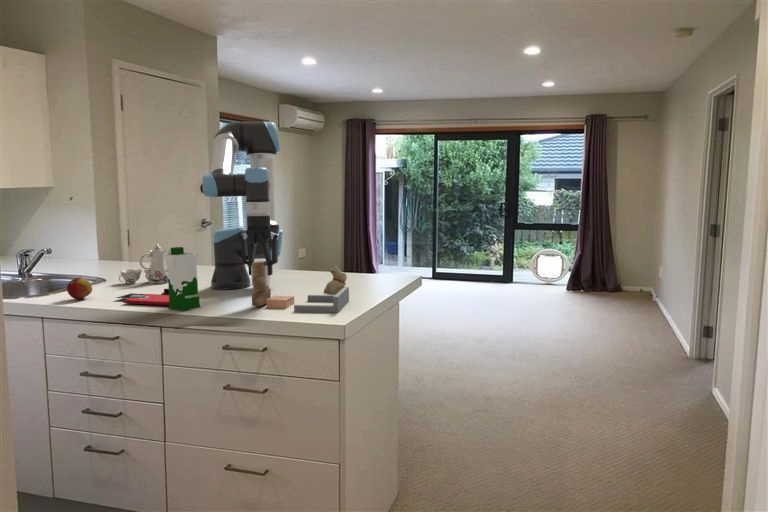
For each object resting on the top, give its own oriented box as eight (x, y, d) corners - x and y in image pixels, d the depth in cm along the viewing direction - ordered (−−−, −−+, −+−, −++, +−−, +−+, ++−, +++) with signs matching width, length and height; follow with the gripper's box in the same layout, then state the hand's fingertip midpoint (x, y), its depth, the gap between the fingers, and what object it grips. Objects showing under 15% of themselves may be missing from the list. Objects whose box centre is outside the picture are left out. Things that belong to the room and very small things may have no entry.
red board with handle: (134, 294, 224) (105, 303, 210) (134, 287, 224) (104, 295, 209) (205, 298, 215) (180, 307, 201) (205, 290, 215) (179, 298, 201)
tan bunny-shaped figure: (343, 293, 223) (343, 266, 221) (323, 292, 224) (322, 266, 223) (347, 290, 228) (347, 264, 227) (327, 290, 230) (326, 263, 228)
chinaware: (174, 278, 270) (169, 241, 269) (197, 278, 260) (192, 240, 259) (114, 288, 248) (109, 248, 247) (137, 288, 238) (131, 246, 237)
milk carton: (186, 304, 207) (183, 246, 204) (204, 307, 202) (201, 247, 199) (164, 309, 199) (161, 248, 197) (183, 312, 195) (179, 250, 192)
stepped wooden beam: (250, 305, 198) (248, 263, 197) (261, 299, 208) (259, 259, 206) (262, 306, 198) (260, 263, 196) (272, 300, 208) (270, 259, 206)
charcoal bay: (294, 311, 193) (293, 296, 192) (308, 300, 210) (308, 286, 210) (338, 312, 191) (337, 297, 190) (349, 301, 208) (348, 286, 208)
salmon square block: (266, 308, 200) (266, 299, 199) (275, 304, 207) (274, 295, 206) (286, 309, 198) (286, 300, 198) (294, 304, 205) (294, 296, 205)
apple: (68, 298, 219) (66, 276, 218) (93, 296, 223) (91, 275, 222) (67, 302, 213) (65, 279, 212) (92, 300, 216) (90, 278, 215)
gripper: (229, 215, 197) (232, 286, 200) (279, 215, 194) (282, 287, 197) (237, 214, 204) (240, 282, 207) (286, 214, 202) (289, 283, 205)
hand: (261, 284), depth 202 cm, fingers closed on stepped wooden beam, 4 cm apart
